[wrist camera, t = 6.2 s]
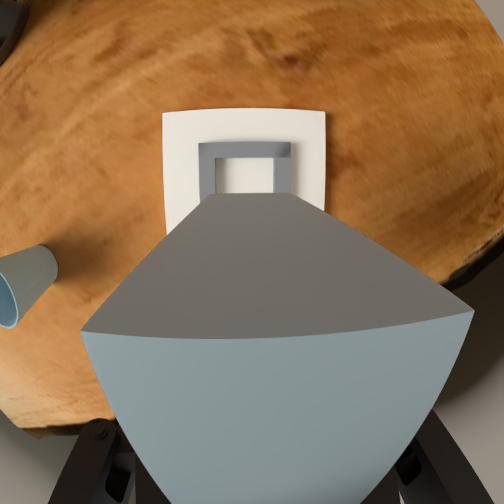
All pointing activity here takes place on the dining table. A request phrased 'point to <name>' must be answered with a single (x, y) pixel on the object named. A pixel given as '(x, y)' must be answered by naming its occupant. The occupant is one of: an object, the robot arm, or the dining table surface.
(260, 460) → the light blue block
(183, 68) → the dining table surface
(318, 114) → the track
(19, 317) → the cup
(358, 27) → the dining table surface
